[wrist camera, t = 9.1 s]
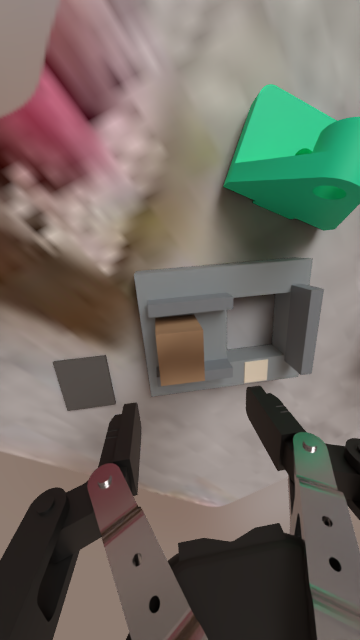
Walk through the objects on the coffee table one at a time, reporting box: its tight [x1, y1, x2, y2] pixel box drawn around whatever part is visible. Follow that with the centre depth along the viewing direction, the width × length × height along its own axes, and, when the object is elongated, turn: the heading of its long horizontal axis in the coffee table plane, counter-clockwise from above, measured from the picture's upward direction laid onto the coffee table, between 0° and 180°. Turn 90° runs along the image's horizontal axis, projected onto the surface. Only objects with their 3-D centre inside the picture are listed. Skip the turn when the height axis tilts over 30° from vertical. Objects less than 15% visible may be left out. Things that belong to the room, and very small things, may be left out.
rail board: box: [134, 257, 324, 397], centre depth 23 cm, size 14×18×6 cm
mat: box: [53, 355, 116, 411], centre depth 26 cm, size 7×6×1 cm
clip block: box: [155, 314, 205, 386], centre depth 21 cm, size 5×4×4 cm
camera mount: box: [223, 84, 360, 230], centre depth 17 cm, size 12×8×10 cm, turn 71°
